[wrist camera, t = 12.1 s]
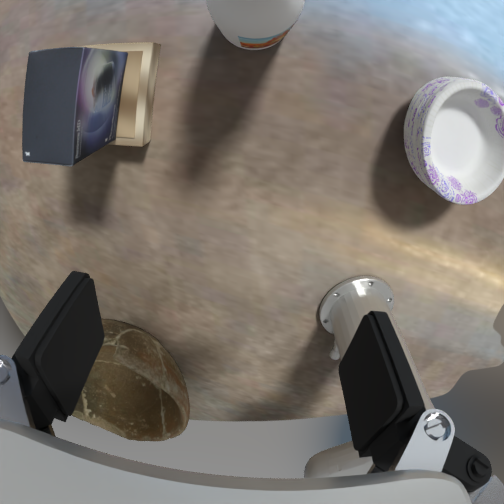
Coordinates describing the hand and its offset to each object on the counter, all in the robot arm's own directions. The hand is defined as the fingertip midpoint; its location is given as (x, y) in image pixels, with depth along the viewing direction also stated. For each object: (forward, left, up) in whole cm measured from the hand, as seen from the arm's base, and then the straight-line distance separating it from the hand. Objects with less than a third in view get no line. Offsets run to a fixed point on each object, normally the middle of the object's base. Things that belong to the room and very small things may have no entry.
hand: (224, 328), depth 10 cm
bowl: (-37, +16, -29) cm, 50 cm away
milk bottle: (+15, +1, -29) cm, 33 cm away
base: (+5, +17, -29) cm, 34 cm away
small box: (+5, +17, -26) cm, 32 cm away
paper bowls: (+8, -25, -29) cm, 39 cm away
